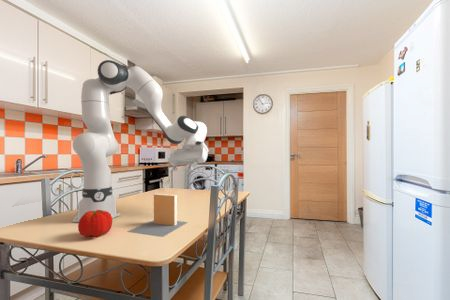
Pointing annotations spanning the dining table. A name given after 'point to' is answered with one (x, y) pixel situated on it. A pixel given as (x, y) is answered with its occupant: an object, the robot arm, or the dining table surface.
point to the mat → (156, 228)
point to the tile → (165, 209)
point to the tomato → (95, 223)
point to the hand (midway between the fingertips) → (182, 169)
